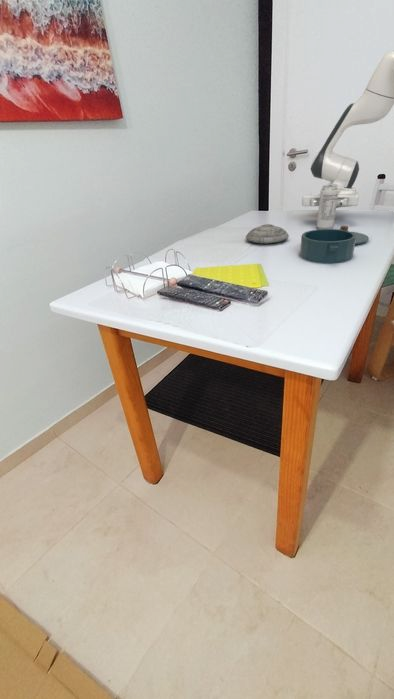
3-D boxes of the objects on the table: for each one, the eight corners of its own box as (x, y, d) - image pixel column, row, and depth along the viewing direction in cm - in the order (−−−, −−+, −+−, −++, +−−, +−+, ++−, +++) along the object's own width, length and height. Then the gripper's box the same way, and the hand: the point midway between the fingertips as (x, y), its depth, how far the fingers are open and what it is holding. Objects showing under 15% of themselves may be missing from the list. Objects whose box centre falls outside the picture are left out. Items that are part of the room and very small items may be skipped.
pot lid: (361, 233, 119) (363, 220, 116) (374, 246, 106) (377, 231, 103) (314, 235, 122) (316, 221, 119) (321, 247, 108) (323, 233, 106)
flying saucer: (239, 245, 118) (239, 228, 115) (252, 234, 129) (253, 219, 126) (282, 247, 112) (283, 230, 109) (292, 235, 123) (293, 220, 120)
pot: (344, 245, 109) (347, 226, 106) (360, 265, 92) (364, 243, 89) (297, 246, 111) (298, 227, 108) (304, 267, 95) (306, 245, 91)
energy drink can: (331, 226, 130) (337, 183, 122) (333, 230, 125) (340, 186, 117) (315, 226, 131) (320, 184, 123) (317, 230, 126) (322, 186, 118)
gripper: (304, 189, 136) (299, 194, 126) (360, 187, 129) (359, 193, 118) (303, 205, 140) (298, 212, 129) (357, 205, 132) (356, 212, 121)
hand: (327, 203), depth 123 cm, fingers open, 8 cm apart
